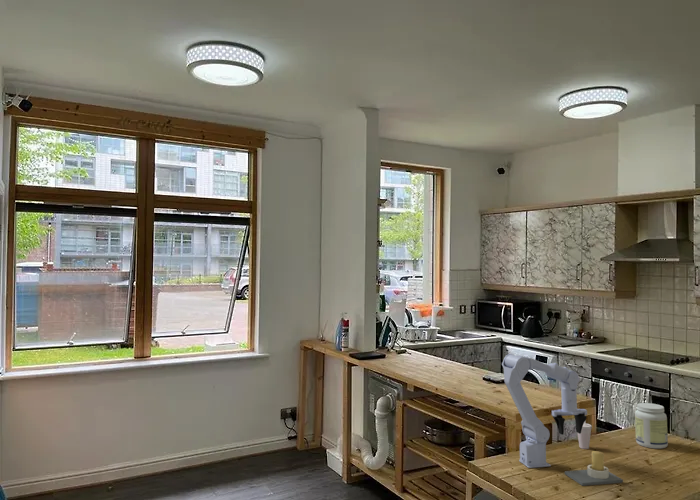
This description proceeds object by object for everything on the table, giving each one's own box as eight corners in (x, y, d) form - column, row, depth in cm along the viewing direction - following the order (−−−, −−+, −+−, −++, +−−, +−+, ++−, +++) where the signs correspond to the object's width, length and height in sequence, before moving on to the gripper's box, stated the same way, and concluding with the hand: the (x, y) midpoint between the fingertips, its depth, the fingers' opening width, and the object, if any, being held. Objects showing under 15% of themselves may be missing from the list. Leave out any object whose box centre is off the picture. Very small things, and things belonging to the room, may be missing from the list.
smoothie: (594, 450, 220) (593, 417, 220) (578, 449, 221) (577, 416, 222) (590, 445, 226) (589, 413, 227) (574, 444, 227) (573, 412, 228)
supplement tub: (670, 444, 227) (669, 405, 228) (664, 451, 218) (663, 410, 219) (639, 438, 235) (638, 400, 236) (632, 445, 226) (631, 406, 227)
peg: (596, 477, 188) (595, 455, 189) (589, 473, 192) (589, 451, 193) (606, 476, 189) (605, 454, 189) (599, 472, 193) (599, 450, 193)
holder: (582, 485, 184) (582, 475, 184) (564, 474, 194) (564, 464, 194) (623, 482, 186) (622, 472, 186) (603, 471, 197) (603, 461, 197)
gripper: (558, 402, 205) (559, 437, 205) (591, 400, 208) (592, 435, 207) (548, 398, 212) (549, 432, 212) (580, 396, 215) (581, 430, 214)
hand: (569, 433), depth 210 cm, fingers open, 7 cm apart
